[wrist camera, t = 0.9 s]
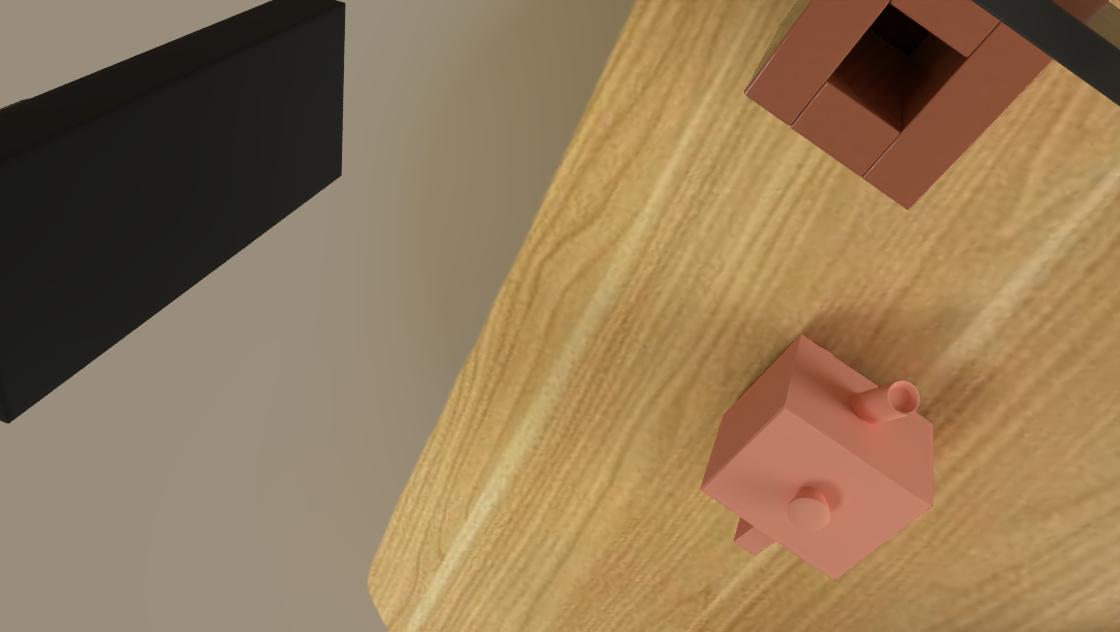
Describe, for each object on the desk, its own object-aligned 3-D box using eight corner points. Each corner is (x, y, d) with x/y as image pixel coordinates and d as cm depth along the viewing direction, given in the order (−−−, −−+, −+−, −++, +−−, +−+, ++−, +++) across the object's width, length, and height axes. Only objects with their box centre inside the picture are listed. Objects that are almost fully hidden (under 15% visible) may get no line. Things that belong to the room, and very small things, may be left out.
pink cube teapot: (981, 371, 44) (989, 484, 37) (822, 506, 51) (804, 621, 45) (846, 277, 44) (829, 375, 37) (705, 426, 51) (670, 530, 44)
